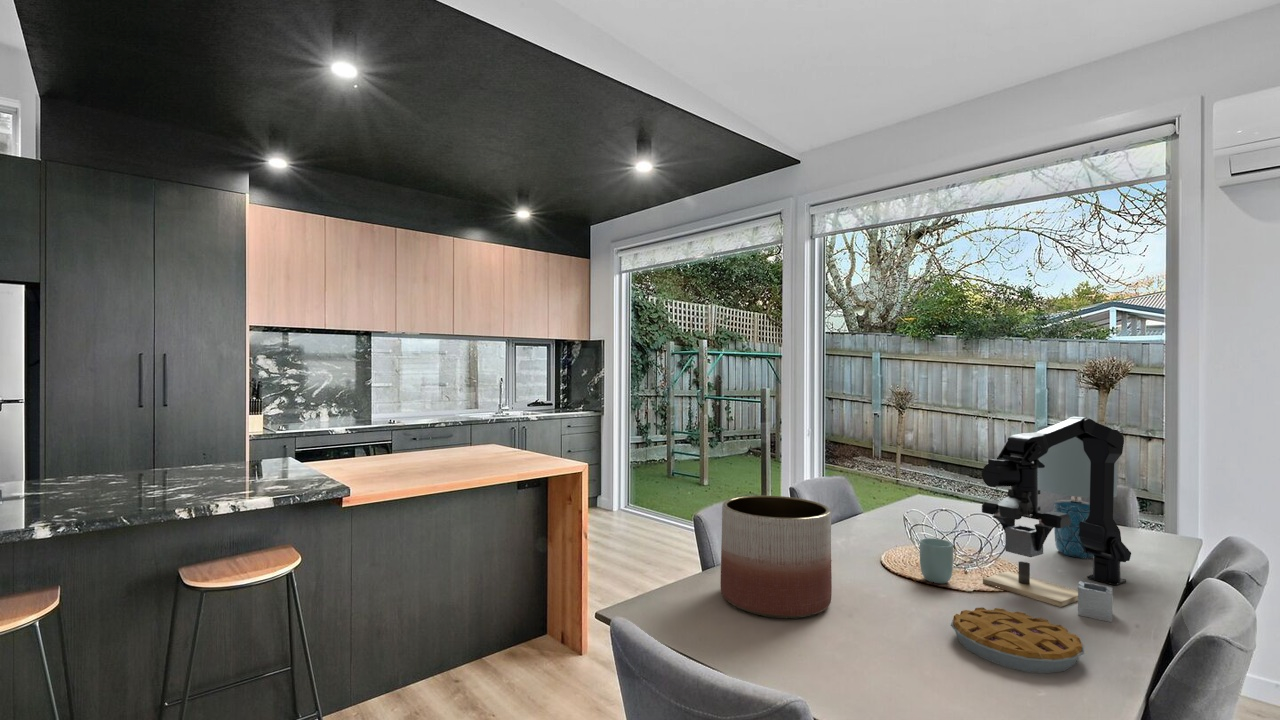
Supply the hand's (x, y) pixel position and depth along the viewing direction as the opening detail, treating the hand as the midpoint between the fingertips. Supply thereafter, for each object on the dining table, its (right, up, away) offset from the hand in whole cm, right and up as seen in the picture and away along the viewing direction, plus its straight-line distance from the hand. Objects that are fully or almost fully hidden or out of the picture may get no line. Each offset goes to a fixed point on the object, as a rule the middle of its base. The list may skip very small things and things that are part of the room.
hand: (1024, 547), depth 152 cm
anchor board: (+1, -10, -2) cm, 10 cm away
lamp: (+34, -11, +29) cm, 46 cm away
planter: (-65, -9, -10) cm, 67 cm away
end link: (0, -1, 0) cm, 1 cm away
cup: (-20, -10, +4) cm, 23 cm away
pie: (-24, -10, -34) cm, 43 cm away
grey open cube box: (+5, -10, -17) cm, 20 cm away
